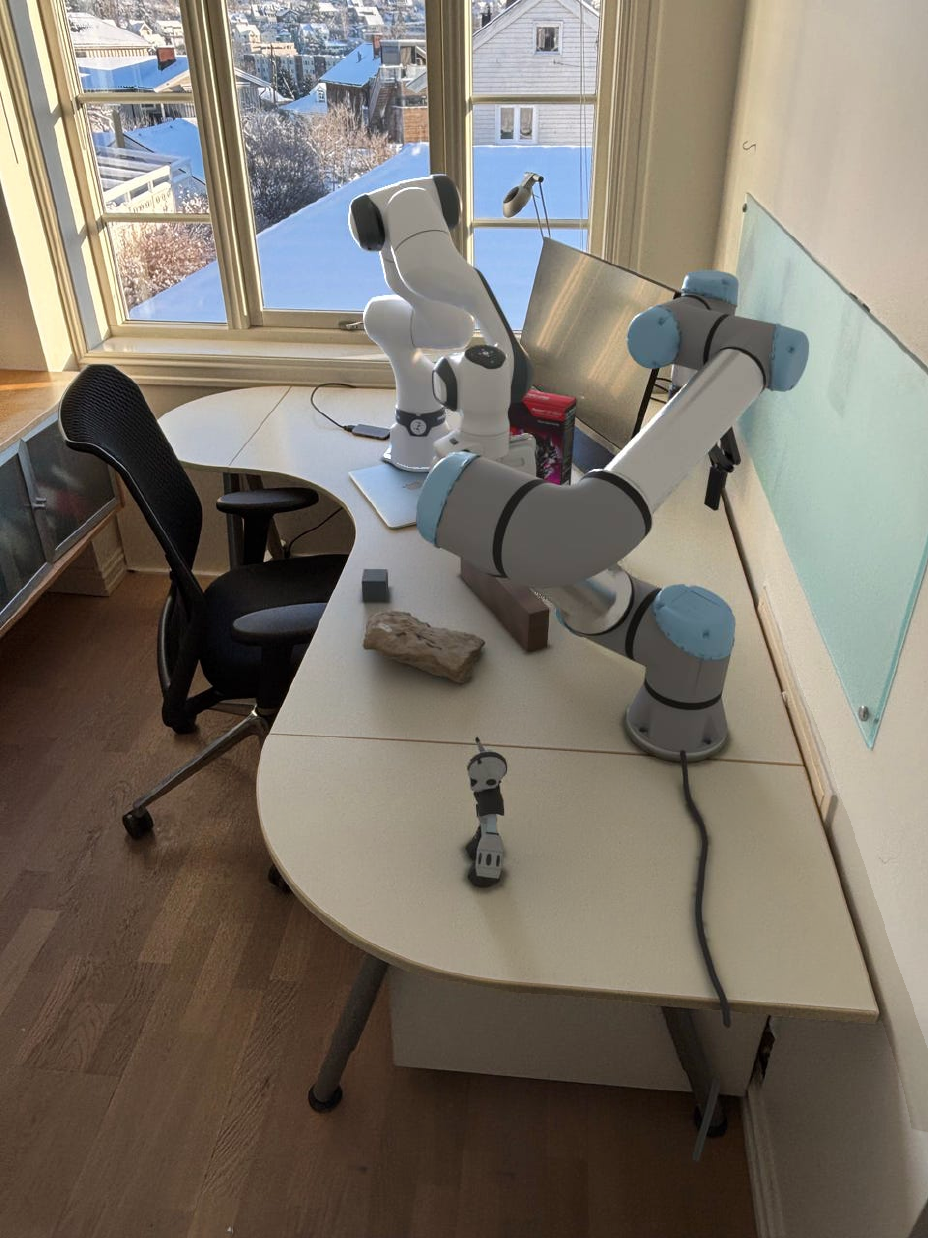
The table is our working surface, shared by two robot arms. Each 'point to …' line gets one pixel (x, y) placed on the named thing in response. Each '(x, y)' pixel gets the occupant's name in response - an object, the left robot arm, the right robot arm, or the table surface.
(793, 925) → the table surface
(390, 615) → the stone
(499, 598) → the walnut bar
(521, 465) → the left robot arm
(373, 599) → the slate cube
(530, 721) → the table surface
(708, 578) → the table surface
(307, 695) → the table surface
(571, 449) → the graphics card box
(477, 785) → the robot
